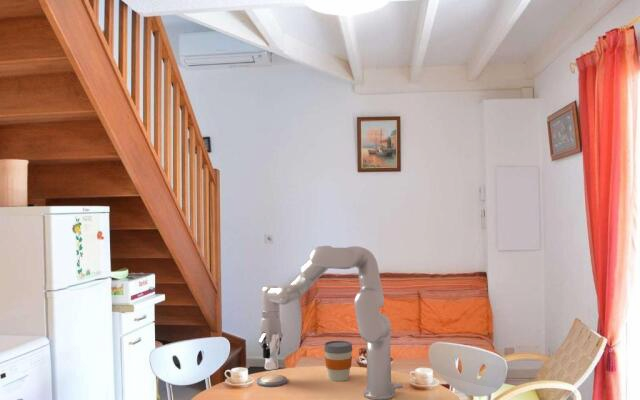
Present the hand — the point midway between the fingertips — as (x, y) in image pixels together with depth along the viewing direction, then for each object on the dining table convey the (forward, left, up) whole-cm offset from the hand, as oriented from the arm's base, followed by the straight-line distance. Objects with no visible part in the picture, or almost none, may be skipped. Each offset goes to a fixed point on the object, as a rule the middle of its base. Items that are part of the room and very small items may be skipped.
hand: (271, 355), depth 216 cm
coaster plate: (0, 0, -11) cm, 11 cm away
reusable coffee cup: (-29, +5, -11) cm, 32 cm away
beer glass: (0, 0, -5) cm, 5 cm away
